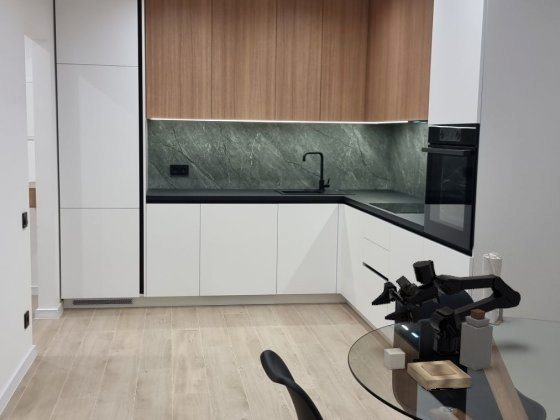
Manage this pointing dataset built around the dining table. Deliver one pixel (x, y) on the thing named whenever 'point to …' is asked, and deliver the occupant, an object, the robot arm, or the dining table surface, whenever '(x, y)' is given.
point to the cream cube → (394, 358)
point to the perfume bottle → (476, 341)
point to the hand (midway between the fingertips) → (378, 310)
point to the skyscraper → (490, 266)
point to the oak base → (438, 375)
